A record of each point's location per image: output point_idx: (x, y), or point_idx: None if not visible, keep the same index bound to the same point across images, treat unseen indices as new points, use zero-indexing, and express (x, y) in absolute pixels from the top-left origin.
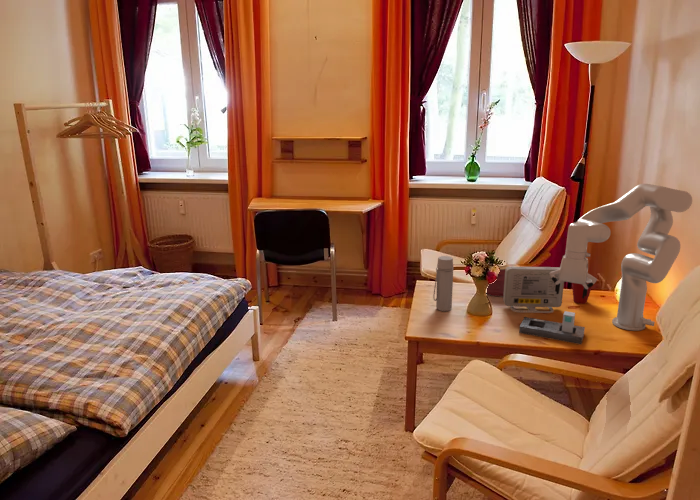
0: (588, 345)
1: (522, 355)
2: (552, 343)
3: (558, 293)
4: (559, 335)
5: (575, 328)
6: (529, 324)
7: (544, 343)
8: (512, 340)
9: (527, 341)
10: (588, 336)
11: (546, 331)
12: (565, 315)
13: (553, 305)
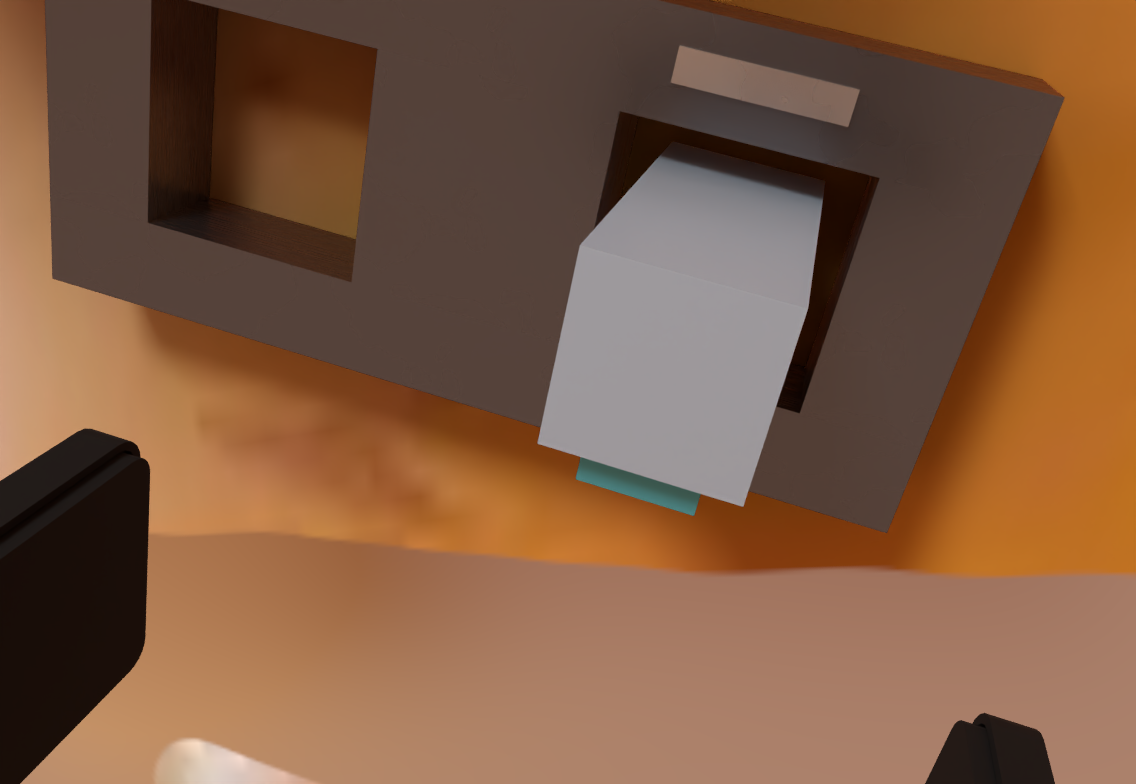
0: (982, 490)
1: (235, 761)
2: (513, 489)
3: (137, 618)
4: None
5: (867, 173)
6: (172, 90)
7: (422, 500)
8: None
9: (242, 474)
10: (1091, 173)
11: (400, 382)
12: (581, 451)
13: None
